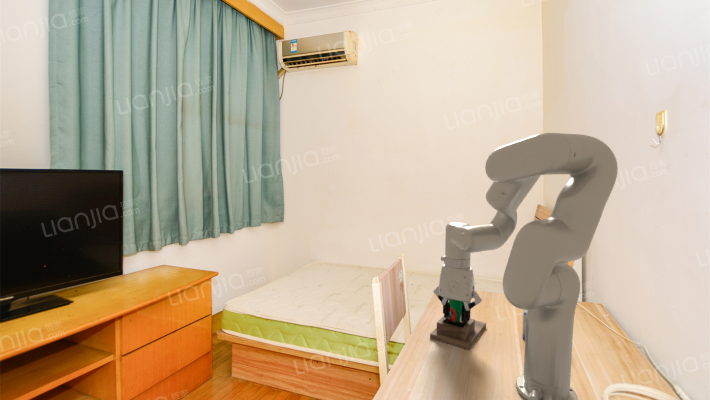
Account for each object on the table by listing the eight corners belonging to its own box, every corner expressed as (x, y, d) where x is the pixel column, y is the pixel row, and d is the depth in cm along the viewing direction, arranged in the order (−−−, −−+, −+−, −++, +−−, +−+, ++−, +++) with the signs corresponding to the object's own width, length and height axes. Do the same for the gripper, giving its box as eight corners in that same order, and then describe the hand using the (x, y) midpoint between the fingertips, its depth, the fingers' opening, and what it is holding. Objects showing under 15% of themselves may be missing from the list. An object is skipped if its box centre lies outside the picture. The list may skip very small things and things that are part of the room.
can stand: (468, 349, 100) (468, 333, 100) (430, 338, 107) (430, 322, 107) (485, 327, 115) (486, 312, 114) (451, 318, 122) (451, 304, 121)
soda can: (462, 336, 105) (464, 298, 104) (446, 333, 107) (447, 295, 106) (465, 330, 110) (467, 293, 109) (449, 326, 112) (451, 290, 111)
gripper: (426, 260, 109) (425, 316, 110) (482, 269, 99) (480, 330, 100) (436, 256, 115) (435, 308, 116) (489, 264, 105) (487, 321, 106)
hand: (456, 318), depth 108 cm, fingers open, 5 cm apart
